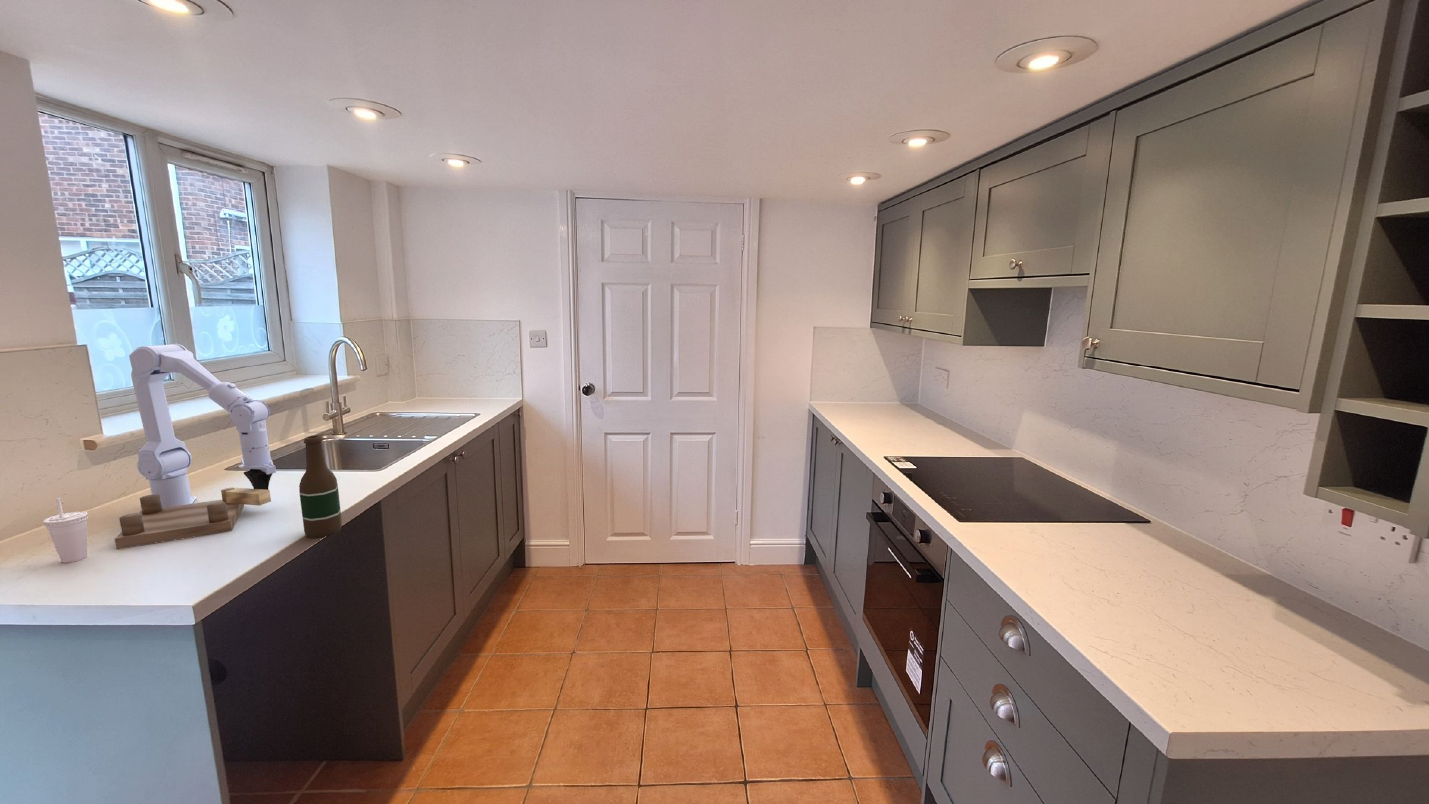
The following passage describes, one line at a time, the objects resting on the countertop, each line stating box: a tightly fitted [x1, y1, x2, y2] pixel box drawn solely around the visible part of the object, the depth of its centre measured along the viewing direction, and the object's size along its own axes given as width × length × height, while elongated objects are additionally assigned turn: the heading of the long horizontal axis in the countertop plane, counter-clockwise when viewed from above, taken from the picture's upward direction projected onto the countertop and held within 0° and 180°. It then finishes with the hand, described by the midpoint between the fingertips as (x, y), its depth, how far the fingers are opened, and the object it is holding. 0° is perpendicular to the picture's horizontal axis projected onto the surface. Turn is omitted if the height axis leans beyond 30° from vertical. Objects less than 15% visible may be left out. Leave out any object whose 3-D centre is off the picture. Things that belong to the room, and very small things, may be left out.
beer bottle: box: [298, 435, 343, 539], centre depth 135 cm, size 8×8×24 cm
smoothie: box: [42, 497, 90, 564], centre depth 120 cm, size 6×6×14 cm
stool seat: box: [114, 494, 245, 550], centre depth 139 cm, size 20×20×6 cm
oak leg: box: [220, 487, 272, 506], centre depth 149 cm, size 12×3×3 cm, turn 82°
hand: (262, 495), depth 152 cm, fingers closed, pressing on oak leg
